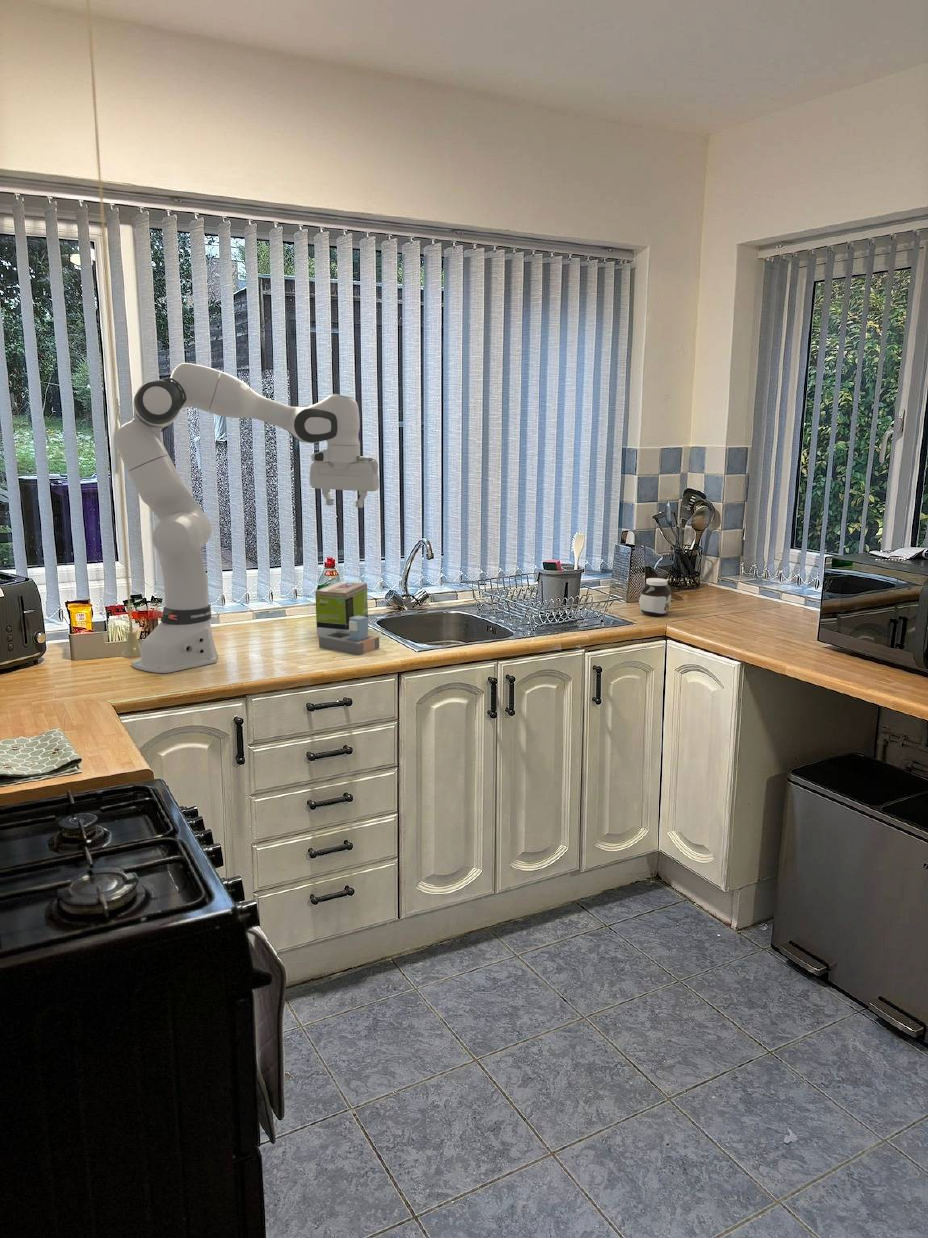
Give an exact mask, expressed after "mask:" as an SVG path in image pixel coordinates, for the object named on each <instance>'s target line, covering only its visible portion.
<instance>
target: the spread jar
mask: <svg viewBox="0 0 928 1238" xmlns="http://www.w3.org/2000/svg"><path fill="white" fill-rule="evenodd" d="M671 601H672V592H671V589H670V588H669V586H668V580H667V579H665V578H661V577H659V578H658V577H649V578H646V583H645V585H644V587H643V588H642V590H641V593H640V597H639V600H638V603H639V609H640V612H641V613H642V614H643V615H645V616H648V617H656V618H659V617H661V618H662V617H664V616H666V615H667V614H668V613H669V611H670V609H671Z"/></svg>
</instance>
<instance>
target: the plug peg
mask: <svg viewBox="0 0 928 1238" xmlns="http://www.w3.org/2000/svg"><path fill="white" fill-rule="evenodd" d="M349 630H350V640H352V641H358V642H360V641H363V640H366V639H368V635H369V616H368V617H364V616H359V615H358V616H354V617H350V621H349Z"/></svg>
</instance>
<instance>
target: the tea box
mask: <svg viewBox="0 0 928 1238" xmlns="http://www.w3.org/2000/svg"><path fill="white" fill-rule="evenodd" d="M314 593H315V594H314V596H315V597H314V598H315V616H316V617H315V618H316V619H315V622H316V635H317V637H319V636H322V635H326V634H329V633H332V632H336V631H339V630H342V631H347V632H350V630H349V621H350V617H354V616H358V615H359V616H364V617H368V618H369V608H368V607H369V606H368V583H365V582H364V583H363V582H349V581H336V582H333V583H332V584H328V585H326V586H324V587H321V588H319V589H317V590H315V591H314Z"/></svg>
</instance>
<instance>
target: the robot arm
mask: <svg viewBox="0 0 928 1238" xmlns="http://www.w3.org/2000/svg"><path fill="white" fill-rule="evenodd" d="M132 406H133V418H132V419H131V420H130V421H127V422H126V423H124V424H122V425H121V426H120V427H119V428H118V429H117V431H116V433H115V442H116V446H117V449H118V452H119V455H120V458H121V460H122V462H123V464H124V468H125V469H126V471H127V473H128V475H129V477H130V479H131V481H132V483H133V485H134V488H135V489H136V491H137V493H138V495H139V497H140V499H141V500H142V502H143V503H144V504H145V505H147V506H148V508H149V509H150V510H151V511H152V512H153V513H154V515H155V516H156V518H157V519H158V520H159V522H157V524H156V526H155V528H154V530H153V531H152V542H153V543H152V544H153V546H154V548H155V549H156V550H157V555H158V560H159V564H160V568H161V572H162V577H163V587H164V588H163V589H164V601H165V602H164V603H165V606H164V607H163V610H162V611H161V610H157V609H155V610H153V611H152V614H151V615H152V617H153V618H156V619H160V623H158V625H157V626H155V628H154V629H153V630H152V631H151V632H150V633H149V634H148V635H147V636H146V637H145V639H143V641H142V642H141V646H140V657H139V658H137V659H134V660H131V667H133V668H134V669H137V670H139V671H145V672H149V673H156V674H157V673H158V674H169V673H175V672H178V671H183V670H188V669H192V668H197V667H201V666H206V665H210V664H215V663H217V661H218V660H217V658H218V656H219V655H218V652H217V648H216V646H215V641H214V637H213V633H212V625H211V618H212V610H211V609H212V606H211V604H210V602H209V600H210V599H209V584H208V583H209V581H208V580H209V579H208V573H207V571H206V570H205V565H204V561H203V557H202V548H203V547H204V546H205V545H206V544H207V543H208V541H209V540H210V538H211V535H212V530H213V528H212V523H211V520H210V518H209V517H208V516H207V515H206V514H205V512H203V510H202V509H201V507H200V505H199V504H198V502H197V501H196V499H195V498H194V496H193V495H192V494H191V493H190V492H189V489H188V488H187V487H186V485H185V484H184V482H183V480H182V478H181V475H180V474H179V473H178V470H177V468H176V466H175V465H174V463H173V460H172V458H171V457H170V455H169V453H168V451H167V449H166V446H165V445H164V443H163V439H162V433H163V432H164V431H165V430H166V429H167V428H169V427H170V426H171V425H172V424H173V423H174V422H175V421H176V420H177V418H178V416H179V414H180V413H179V412H180V411H181V410H182V409H184V408H194V409H198V410H201V411H204V412H206V413H210V414H213V415H216V416H221V417H226V418H231V419H240V418H241V419H243V418H244V419H245V418H246V419H247V418H248V419H255V420H258V421H261V422H264V423H267V424H270V425H273V426H276V427H279V428H281V429H283V430H285V431H287V432H288V433H289V434H290V435H291V436H292V437H293V438H294V439H295V440H296V441H299V442H301V443H304V444H305V443H306V444H317V443H320V442H324V441H326V443H327V445H326V449H324V450H320V451H317V452H314V453H312V454H311V456H310V458H311V461H312V462H311V465H310V468H309V485H310V486H311V488H312V489H318V490H321V494H322V495H323V497H324V499H325V506H327V507H328V506H330V507H331V506H334V500H335V499H334V498H331V495H330V493H331V490H339V491H340V490H341V491H352V492H353V491H355V492H358V495H359V498H358V500H355V508H364V502H365V499H366V498H367V496H368V492H372V493H373V492H376V491H378V489H379V488H380V482H379V481H380V480H379V471H378V470H379V469H378V468H379V464H378V461H377V460H376V459H375V458H374V457H373V456H361V442H360V439H359V434H360V428H361V427H360V425H361V423H360V422H361V421H360V412H359V411H360V410H359V405H358V402H357V401H356V400H355V398H353V397H351V396H348V395H345V394H344V395H343V394H338V393H332V394H329V395H328V396H327V397H325V398H324V399H322V400H320V401H318V402H317V403H315V404H311V405H299V406H292V405H288V404H284V403H282V402H279V401H276V400H273V399H270V398H267V397H266V396H263V395H261V394H260V393H257V392H256V391H254V389H252V388H251V387H250V386H249V385H248V384H247V383H246V382H244V381H243V380H241V379H240V378H238V377H236V376H233V374H232V375H231V374H229V373H226V372H224V371H221V370H219V369H215V368H212V367H209V366H204V365H201V364H195V363H190V362H183V363H180V364H178V365H177V366H176V367H175V368H174V369H173V371H172V373H171V375H170V377H165V378H161V379H154V380H149V381H146V382H145V383H143V384H142V385H140V386H139V387H138V388H137V390H136V392H135V395H134V397H133V405H132Z"/></svg>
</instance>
